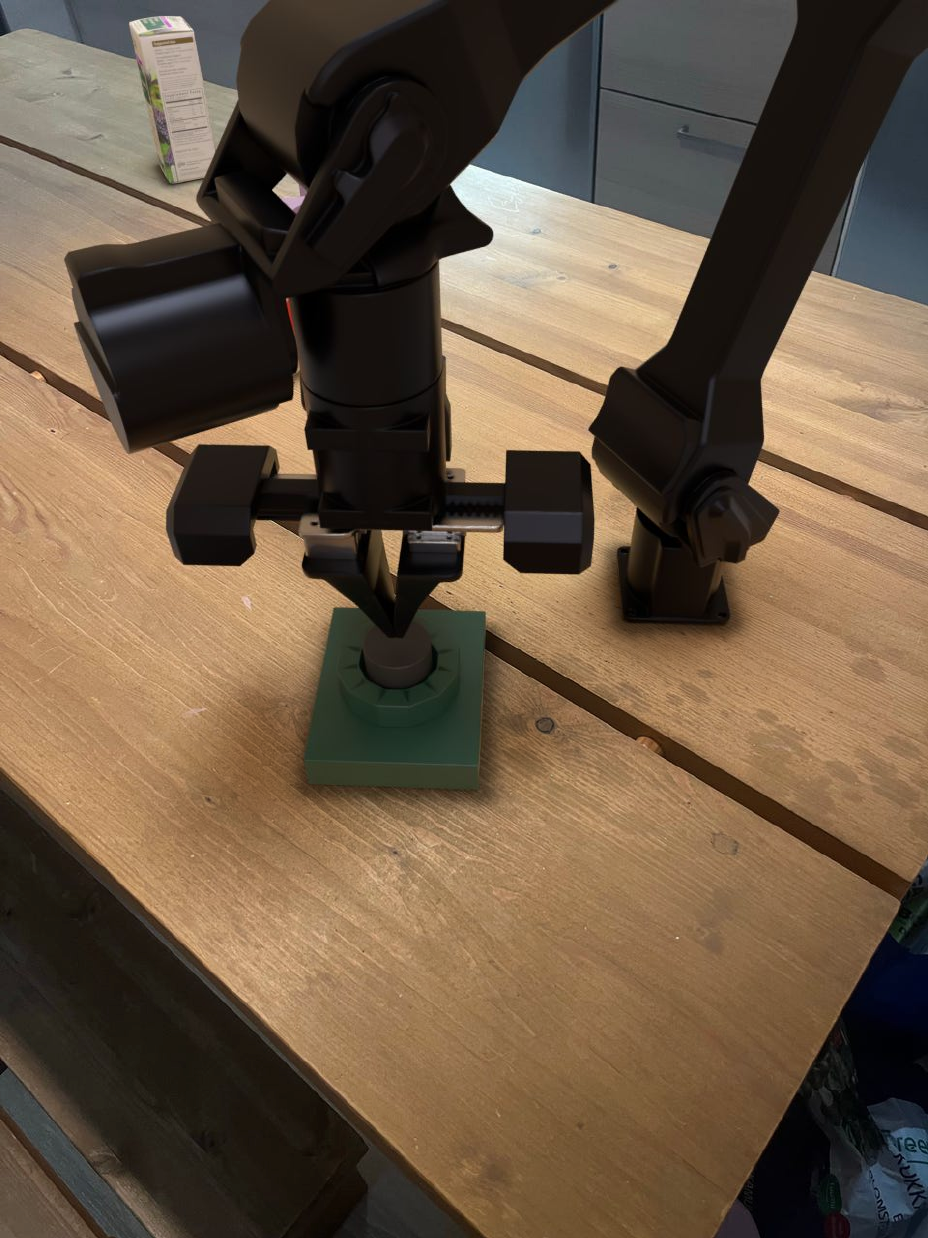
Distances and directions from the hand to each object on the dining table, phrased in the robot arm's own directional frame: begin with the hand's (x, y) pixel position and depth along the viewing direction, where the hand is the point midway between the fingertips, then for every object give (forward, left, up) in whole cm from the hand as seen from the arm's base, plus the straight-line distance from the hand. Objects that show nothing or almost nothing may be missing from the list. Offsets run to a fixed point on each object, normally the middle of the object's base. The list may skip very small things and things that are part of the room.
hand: (396, 631), depth 50 cm
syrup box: (+75, +31, -6) cm, 81 cm away
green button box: (0, 0, -6) cm, 6 cm away
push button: (0, 0, -2) cm, 2 cm away
